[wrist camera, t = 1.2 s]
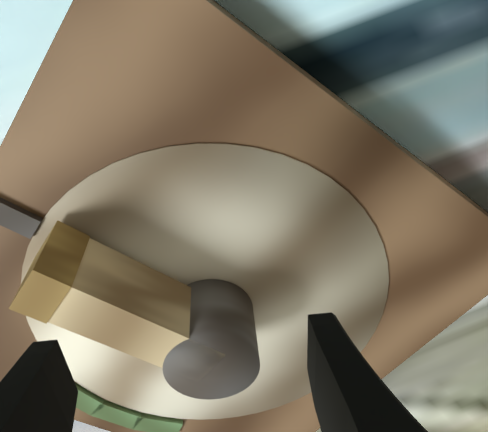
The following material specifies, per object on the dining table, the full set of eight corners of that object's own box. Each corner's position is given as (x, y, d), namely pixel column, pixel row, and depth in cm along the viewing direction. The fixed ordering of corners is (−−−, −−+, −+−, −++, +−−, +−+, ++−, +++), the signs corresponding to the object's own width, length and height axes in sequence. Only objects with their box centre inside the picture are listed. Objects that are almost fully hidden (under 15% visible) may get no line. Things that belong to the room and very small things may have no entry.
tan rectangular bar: (270, 302, 22) (279, 358, 19) (221, 351, 23) (223, 411, 20) (69, 199, 18) (44, 251, 15) (28, 267, 19) (-2, 325, 17)
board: (519, 236, 23) (541, 259, 21) (253, 456, 31) (256, 483, 30) (117, -74, 15) (108, -74, 13) (-90, 337, 23) (-110, 365, 22)
